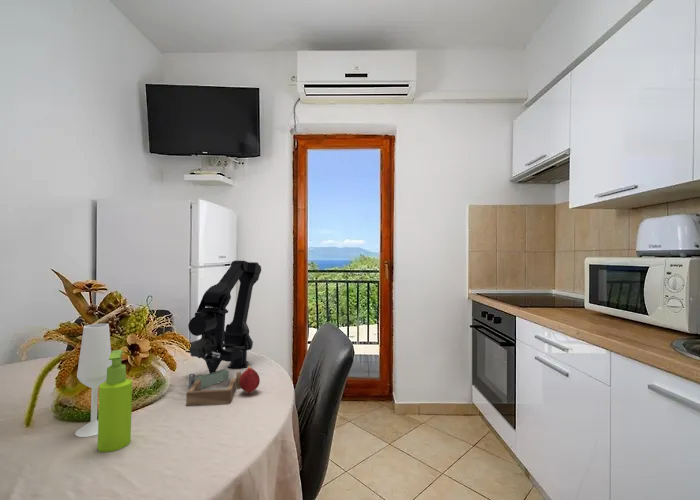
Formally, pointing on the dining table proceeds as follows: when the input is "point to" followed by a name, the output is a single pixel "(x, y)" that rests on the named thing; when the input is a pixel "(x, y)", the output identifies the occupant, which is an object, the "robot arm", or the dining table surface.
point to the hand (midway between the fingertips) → (211, 376)
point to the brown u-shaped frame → (212, 393)
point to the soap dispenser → (115, 407)
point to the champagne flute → (93, 368)
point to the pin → (191, 380)
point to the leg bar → (213, 377)
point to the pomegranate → (249, 380)
